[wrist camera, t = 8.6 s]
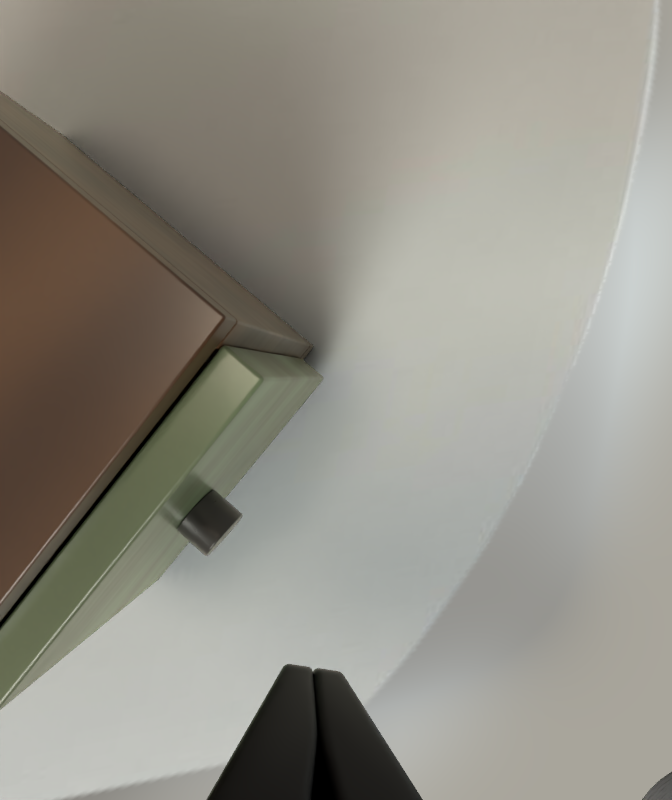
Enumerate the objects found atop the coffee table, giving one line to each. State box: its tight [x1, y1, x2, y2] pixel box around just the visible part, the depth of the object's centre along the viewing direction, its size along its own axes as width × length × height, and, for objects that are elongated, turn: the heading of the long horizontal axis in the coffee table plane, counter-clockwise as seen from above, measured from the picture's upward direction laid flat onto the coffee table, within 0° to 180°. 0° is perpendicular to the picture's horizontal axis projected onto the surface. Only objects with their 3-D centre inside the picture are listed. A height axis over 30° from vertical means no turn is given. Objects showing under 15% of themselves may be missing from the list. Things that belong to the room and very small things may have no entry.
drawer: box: [0, 345, 323, 710], centre depth 17 cm, size 14×10×9 cm
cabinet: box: [0, 91, 313, 627], centre depth 17 cm, size 14×12×11 cm
